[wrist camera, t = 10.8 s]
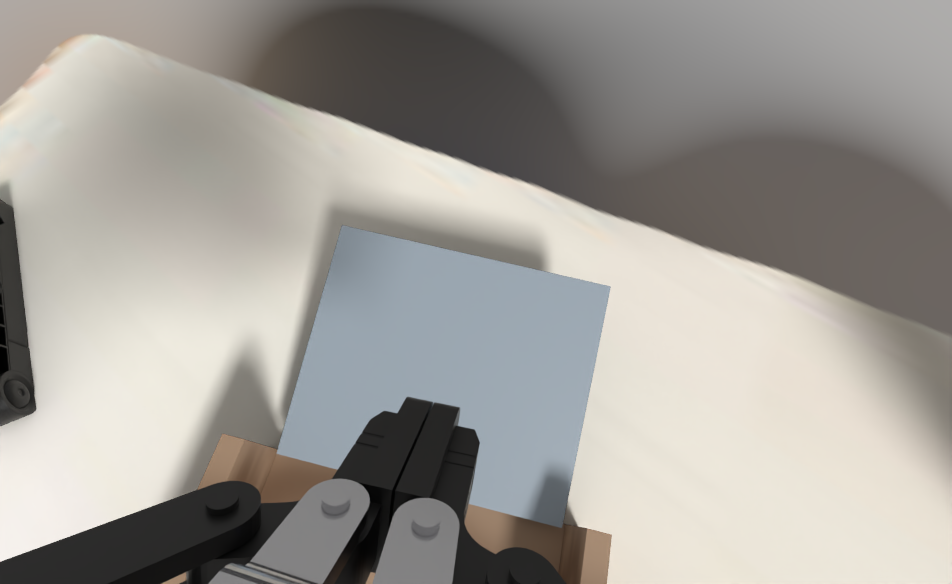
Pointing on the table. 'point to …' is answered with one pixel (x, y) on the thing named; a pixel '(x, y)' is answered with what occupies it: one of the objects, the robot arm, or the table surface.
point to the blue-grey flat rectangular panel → (453, 362)
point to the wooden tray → (565, 548)
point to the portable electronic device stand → (13, 329)
